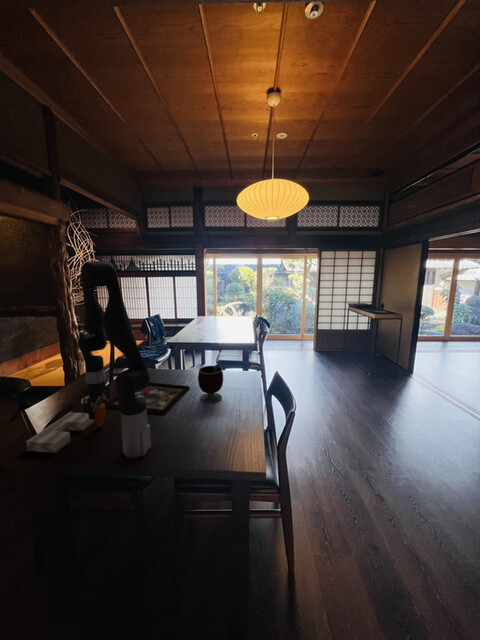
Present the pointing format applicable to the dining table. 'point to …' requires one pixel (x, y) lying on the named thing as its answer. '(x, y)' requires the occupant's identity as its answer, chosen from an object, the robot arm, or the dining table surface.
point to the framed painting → (157, 397)
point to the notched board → (58, 433)
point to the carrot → (99, 413)
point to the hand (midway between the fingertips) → (98, 413)
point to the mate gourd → (210, 383)
